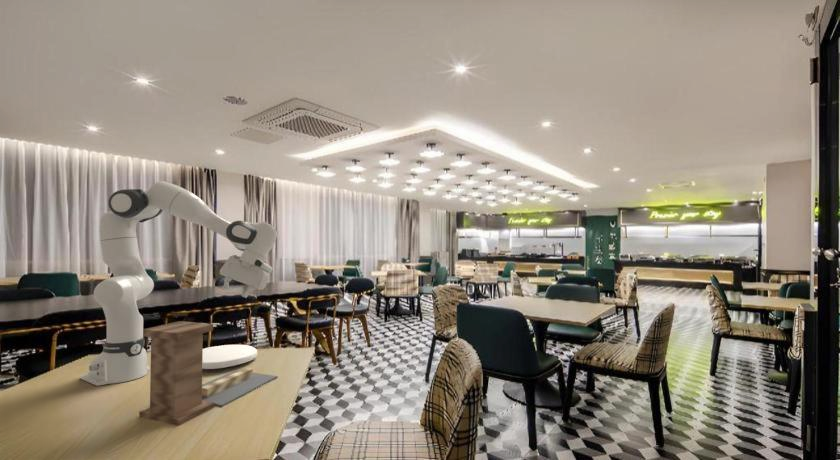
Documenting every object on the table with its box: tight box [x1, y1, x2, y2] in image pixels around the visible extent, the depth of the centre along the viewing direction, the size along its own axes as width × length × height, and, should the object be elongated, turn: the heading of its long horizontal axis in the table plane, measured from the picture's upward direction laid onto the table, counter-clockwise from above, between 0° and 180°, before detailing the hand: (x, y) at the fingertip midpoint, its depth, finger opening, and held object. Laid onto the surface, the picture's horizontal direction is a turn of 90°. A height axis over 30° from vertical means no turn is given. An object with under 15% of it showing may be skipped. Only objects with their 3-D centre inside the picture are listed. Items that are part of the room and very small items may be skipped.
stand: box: [138, 320, 215, 426], centre depth 115 cm, size 16×12×26 cm
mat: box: [202, 369, 279, 408], centre depth 134 cm, size 20×26×1 cm
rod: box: [202, 367, 254, 398], centre depth 133 cm, size 20×3×3 cm, turn 161°
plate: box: [202, 344, 258, 370], centre depth 160 cm, size 28×6×27 cm
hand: (234, 293), depth 145 cm, fingers open, 8 cm apart
